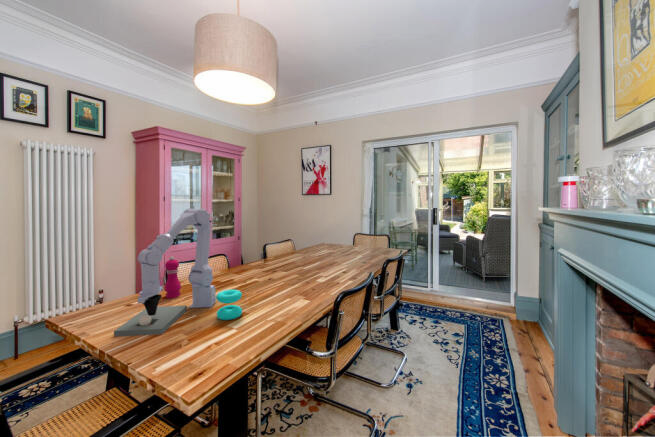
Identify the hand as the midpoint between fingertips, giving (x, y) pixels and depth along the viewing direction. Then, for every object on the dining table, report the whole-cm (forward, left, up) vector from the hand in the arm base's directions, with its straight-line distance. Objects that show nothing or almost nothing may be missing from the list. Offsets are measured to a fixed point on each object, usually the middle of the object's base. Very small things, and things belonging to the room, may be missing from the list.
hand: (151, 314), depth 107 cm
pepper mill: (+6, -32, -4) cm, 32 cm away
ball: (0, +5, 0) cm, 5 cm away
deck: (0, -2, -3) cm, 4 cm away
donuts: (-28, -5, -4) cm, 29 cm away
